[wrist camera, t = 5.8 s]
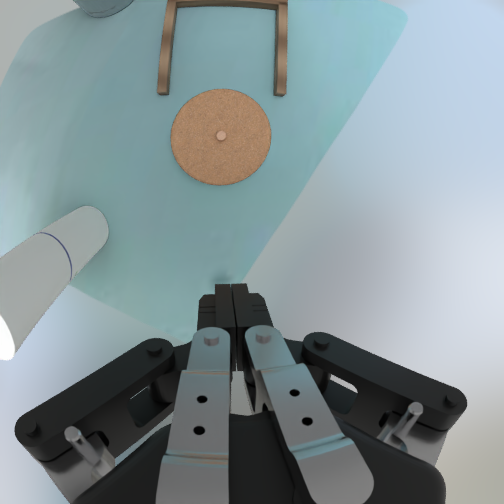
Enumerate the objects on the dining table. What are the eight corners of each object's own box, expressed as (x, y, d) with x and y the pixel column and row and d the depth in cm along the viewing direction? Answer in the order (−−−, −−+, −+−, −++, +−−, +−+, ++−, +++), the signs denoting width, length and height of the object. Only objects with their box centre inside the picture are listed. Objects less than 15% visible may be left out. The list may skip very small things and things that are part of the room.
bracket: (282, 96, 33) (286, 93, 31) (160, 95, 30) (157, 92, 29) (284, 5, 27) (287, -1, 25) (170, 2, 24) (168, -4, 23)
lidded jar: (276, 140, 35) (295, 139, 26) (218, 193, 37) (219, 209, 28) (222, 85, 31) (225, 65, 22) (163, 139, 33) (146, 137, 24)
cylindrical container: (113, 214, 35) (9, 309, 12) (103, 257, 38) (20, 372, 15) (74, 199, 34) (-46, 272, 11) (66, 242, 36) (-32, 337, 13)
